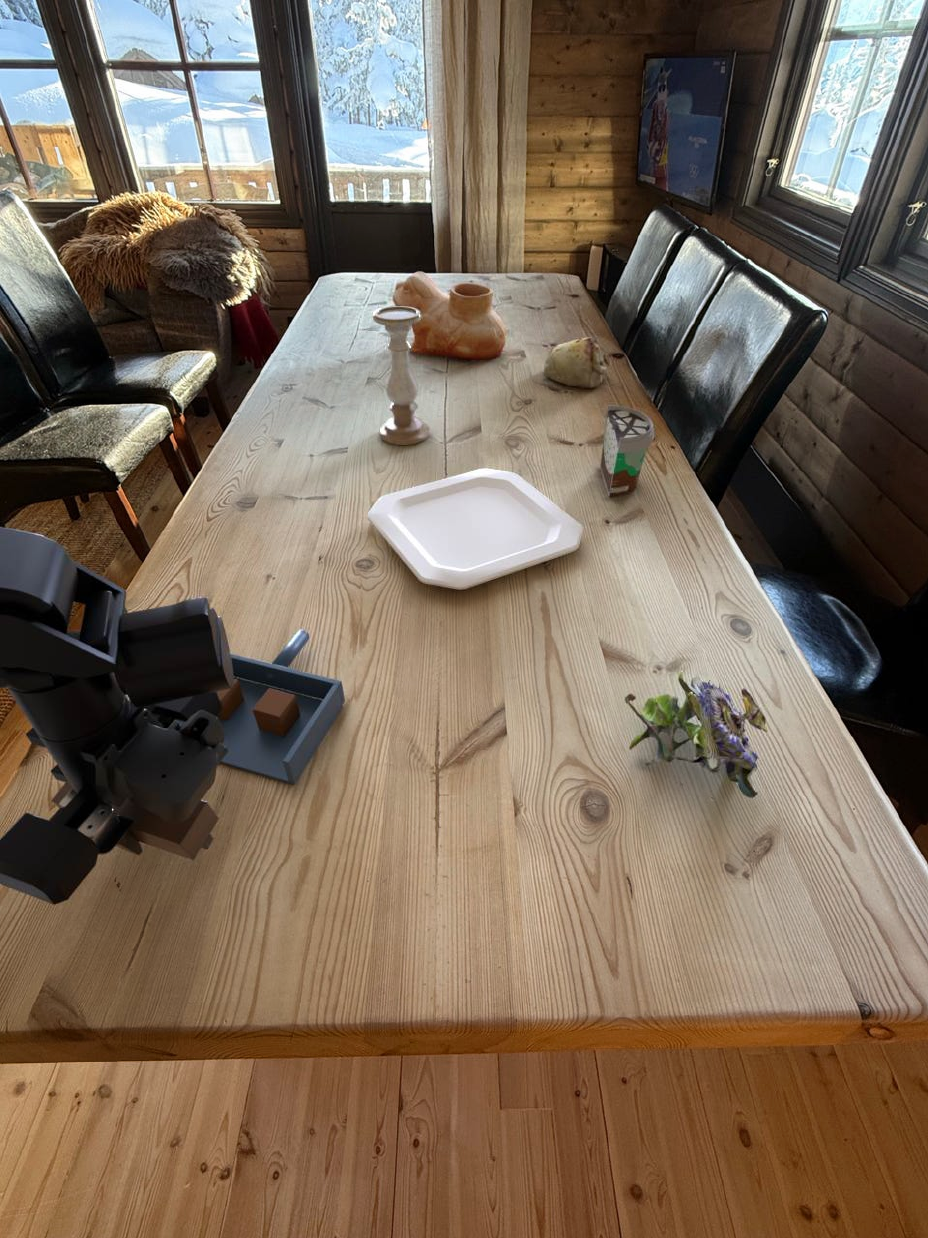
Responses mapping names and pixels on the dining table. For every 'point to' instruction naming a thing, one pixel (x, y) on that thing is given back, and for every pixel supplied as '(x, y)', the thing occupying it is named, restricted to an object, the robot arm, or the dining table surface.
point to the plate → (473, 528)
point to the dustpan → (303, 739)
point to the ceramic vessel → (452, 319)
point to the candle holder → (401, 378)
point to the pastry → (576, 363)
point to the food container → (624, 448)
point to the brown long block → (164, 826)
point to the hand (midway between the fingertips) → (150, 833)
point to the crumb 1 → (230, 700)
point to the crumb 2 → (276, 712)
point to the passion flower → (704, 729)
